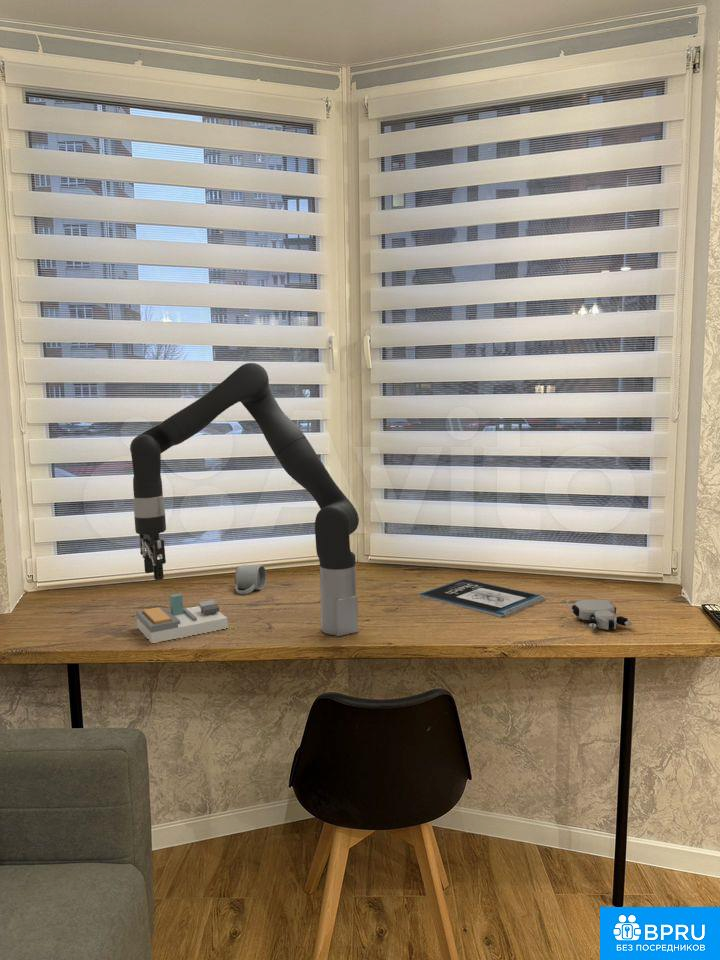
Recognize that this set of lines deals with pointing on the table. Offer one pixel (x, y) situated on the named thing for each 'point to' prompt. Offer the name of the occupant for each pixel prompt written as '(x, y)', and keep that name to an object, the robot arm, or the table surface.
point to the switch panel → (181, 624)
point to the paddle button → (156, 615)
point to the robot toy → (598, 613)
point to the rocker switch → (208, 607)
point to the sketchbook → (483, 597)
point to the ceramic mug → (250, 578)
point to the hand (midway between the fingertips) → (154, 576)
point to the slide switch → (176, 604)
